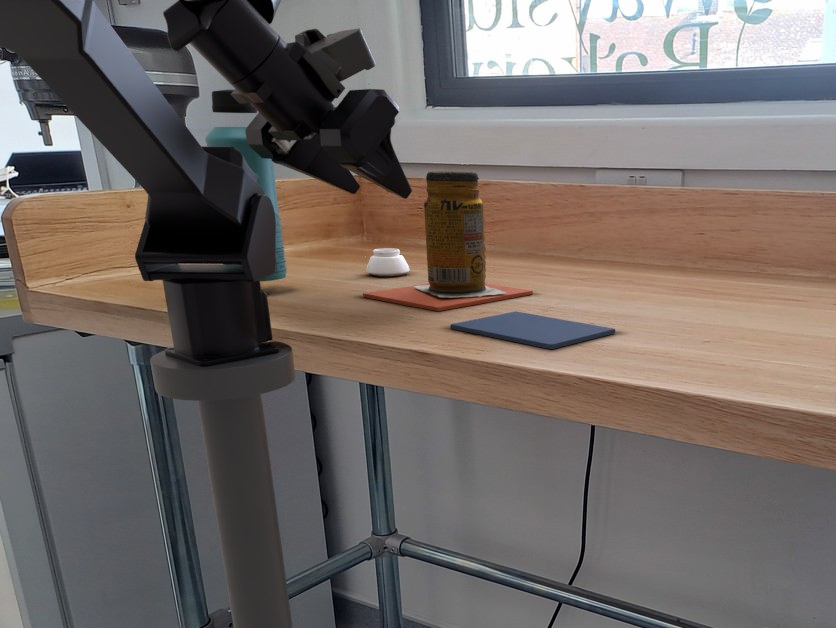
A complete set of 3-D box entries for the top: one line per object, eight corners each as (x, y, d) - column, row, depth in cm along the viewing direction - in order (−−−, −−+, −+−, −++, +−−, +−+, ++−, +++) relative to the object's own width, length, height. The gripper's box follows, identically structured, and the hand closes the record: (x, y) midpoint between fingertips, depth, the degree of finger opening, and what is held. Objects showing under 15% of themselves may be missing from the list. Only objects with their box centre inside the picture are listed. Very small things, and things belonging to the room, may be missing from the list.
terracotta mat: (438, 311, 82) (437, 307, 82) (362, 297, 89) (362, 293, 89) (532, 294, 91) (532, 290, 91) (458, 282, 98) (457, 279, 98)
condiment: (476, 283, 95) (471, 170, 91) (507, 294, 88) (503, 172, 84) (413, 288, 92) (404, 171, 88) (440, 300, 85) (432, 173, 81)
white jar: (362, 277, 101) (404, 277, 101) (360, 252, 100) (402, 252, 100) (373, 271, 106) (413, 271, 106) (371, 247, 105) (411, 247, 105)
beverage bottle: (277, 284, 96) (253, 92, 89) (299, 292, 91) (276, 89, 84) (217, 290, 92) (187, 89, 85) (237, 299, 87) (207, 87, 80)
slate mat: (551, 349, 67) (551, 344, 67) (450, 328, 74) (450, 324, 74) (615, 333, 73) (615, 328, 73) (515, 315, 80) (515, 311, 80)
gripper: (368, -24, 66) (487, 129, 77) (261, 0, 79) (377, 130, 90) (283, 81, 64) (419, 224, 75) (187, 89, 76) (315, 211, 87)
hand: (381, 192), depth 82 cm, fingers open, 9 cm apart
